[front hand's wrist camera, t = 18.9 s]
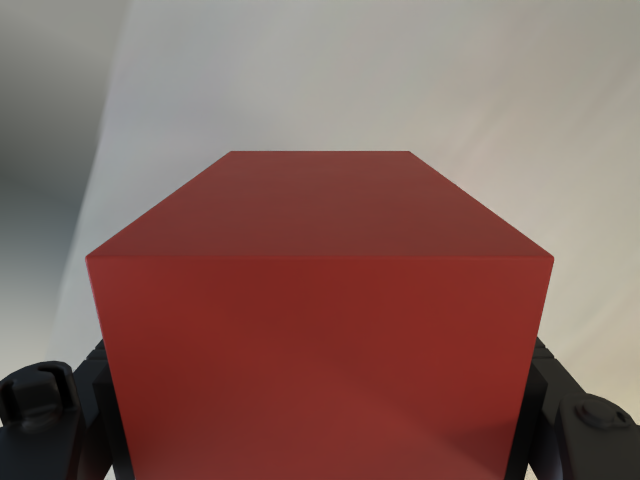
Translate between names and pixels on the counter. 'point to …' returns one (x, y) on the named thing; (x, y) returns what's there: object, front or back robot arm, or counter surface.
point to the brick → (319, 323)
